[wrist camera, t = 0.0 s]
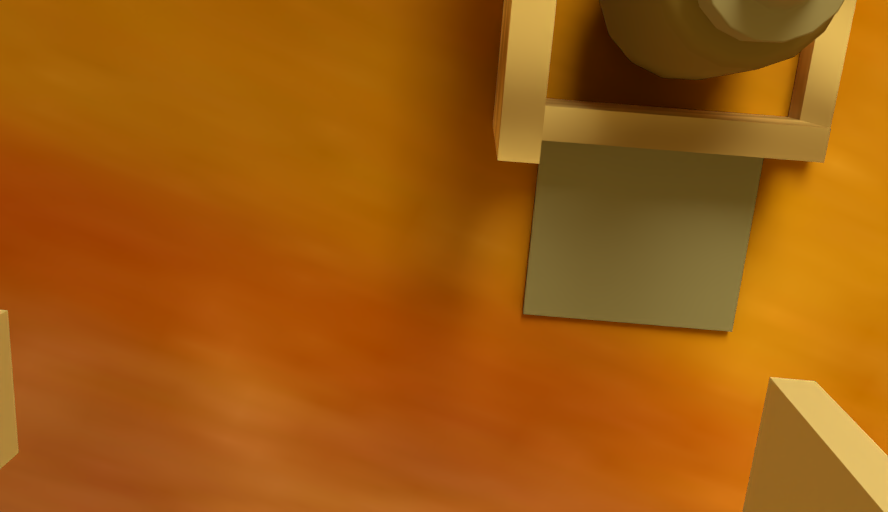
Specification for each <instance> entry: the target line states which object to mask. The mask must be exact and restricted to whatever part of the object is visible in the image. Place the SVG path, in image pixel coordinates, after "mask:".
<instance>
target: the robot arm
mask: <svg viewBox="0 0 888 512" xmlns="http://www.w3.org/2000/svg"><path fill="white" fill-rule="evenodd" d="M18 453H19V450H18V437H17V424H16V411H15V398H14V385H13V372H12V359H11V346H10V333H9V320H8V310H0V469H1V468H2V467H3V466H4V465H5V464H6V463H8V462H9V461H10V460H11V459H12V458H13V457H14V456H15V455H16V454H18ZM743 512H888V456H887V455H886V454H885V453H884V452H883V450H882V449H881V448H880V447H879V446H878V445H877V444H876V443H875V442H874V441H873V440H872V439H871V438H870V437H869V436H868V435H867V434H866V433H865V432H864V431H863V430H862V429H861V428H860V427H859V426H858V425H857V424H856V423H855V422H854V421H853V419H852V418H851V417H850V416H849V415H848V414H847V413H846V412H845V411H844V410H843V409H842V408H841V407H840V406H839V405H838V404H837V403H836V402H835V401H834V400H833V399H832V398H831V397H830V396H829V395H828V394H827V393H826V392H825V391H824V390H823V388H822V387H821V386H820V385H819V384H818V383H817V382H816V381H809V380H797V379H786V378H775V377H770V379H769V384H768V389H767V393H766V398H765V403H764V408H763V413H762V418H761V423H760V428H759V433H758V438H757V443H756V448H755V453H754V458H753V463H752V468H751V473H750V477H749V482H748V487H747V492H746V497H745V502H744V507H743Z"/></svg>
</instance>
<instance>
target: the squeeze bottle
mask: <svg viewBox="0 0 888 512" xmlns="http://www.w3.org/2000/svg"><path fill="white" fill-rule="evenodd" d="M844 1H845V0H599V2H600V6H601V9H602V13H603V16H604V20H605V23H606V27H607V30H608V33H609V36H610V37H611V38H612V39H613V41H614V42H615V43H616V44H617V45H618V47H619V48H620V49H621V50H622V52H623V53H624V54H625V55H626V56H627V58H628V59H629V60H630V61H631V62H632V63H634V64H636V65H638V66H640V67H642V68H644V69H646V70H648V71H649V72H651V73H653V74H655V75H657V76H659V77H661V78H671V79H688V80H701V79H707V78H712V77H718V76H723V75H729V74H734V73H739V72H745V71H750V70H756V69H760V68H763V67H765V66H768V65H771V64H774V63H777V62H780V61H783V60H786V59H789V58H792V57H794V56H796V55H797V54H798V53H799V52H800V51H802V50H803V49H804V48H805V47H807V46H808V45H809V44H810V43H811V42H813V41H814V40H815V39H816V38H818V37H819V36H820V35H821V34H822V33H824V32H825V30H826V29H827V27H828V25H829V24H830V22H831V20H832V19H833V17H834V15H835V14H836V13H837V12H838V11H839V9H840V7H841V6H842V4H843V2H844Z"/></svg>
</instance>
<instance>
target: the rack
mask: <svg viewBox="0 0 888 512" xmlns="http://www.w3.org/2000/svg"><path fill="white" fill-rule="evenodd" d="M556 2H557V0H504V3H503V14H502V25H501V36H500V48H499V59H498V70H497V81H496V92H495V104H494V115H493V131H494V138H495V146H496V153H497V160H498V161H511V162H523V163H536V164H539V161H540V152H541V143H542V140H544V141H557V142H569V143H582V144H595V145H607V146H620V147H633V148H645V149H658V150H670V151H683V152H696V153H708V154H721V155H734V156H746V157H759V158H772V159H784V160H797V161H809V162H822V163H824V160H825V155H826V150H827V145H828V140H829V135H830V131H831V123H832V118H833V113H834V108H835V103H836V98H837V93H838V88H839V84H840V79H841V74H842V69H843V64H844V59H845V54H846V49H847V44H848V39H849V34H850V29H851V25H852V20H853V15H854V10H855V5H856V0H845V1H844V2H843V4H842V6H841V7H840V9H839V11H838V12H837V13H836V14H835V15H834V17H833V19H832V20H831V22H830V24H829V25H828V27H827V29H826V30H825V32H824V33H822V34H821V35H820V36H819V37H818V38H816V39H815V40H814V41H813V42H811V43H810V44H809V45H808V46H807V47H805V48H804V49H803V50H802V51H800V56H799V62H798V67H797V72H796V78H795V83H794V88H793V94H792V99H791V104H790V110H789V115H788V117H782V116H769V115H756V114H743V113H731V112H718V111H705V110H692V109H679V108H666V107H654V106H641V105H628V104H615V103H602V102H589V101H577V100H564V99H551V98H546V96H547V86H548V77H549V67H550V58H551V49H552V39H553V30H554V20H555V11H556Z"/></svg>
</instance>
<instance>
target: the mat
mask: <svg viewBox="0 0 888 512" xmlns="http://www.w3.org/2000/svg"><path fill="white" fill-rule="evenodd" d="M763 159H764V158H759V157H746V156H734V155H721V154H708V153H696V152H683V151H670V150H658V149H645V148H633V147H620V146H607V145H595V144H582V143H569V142H557V141H544V140H542V143H541V152H540V161H539V164H538V173H537V183H536V192H535V201H534V211H533V220H532V230H531V239H530V249H529V258H528V267H527V277H526V286H525V296H524V305H523V314H529V315H541V316H552V317H564V318H576V319H588V320H600V321H612V322H624V323H636V324H647V325H659V326H671V327H683V328H695V329H707V330H719V331H730V332H732V329H733V323H734V318H735V312H736V307H737V301H738V296H739V290H740V285H741V280H742V274H743V269H744V263H745V258H746V252H747V247H748V241H749V236H750V230H751V225H752V219H753V214H754V208H755V203H756V197H757V192H758V186H759V181H760V176H761V170H762V165H763Z"/></svg>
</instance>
